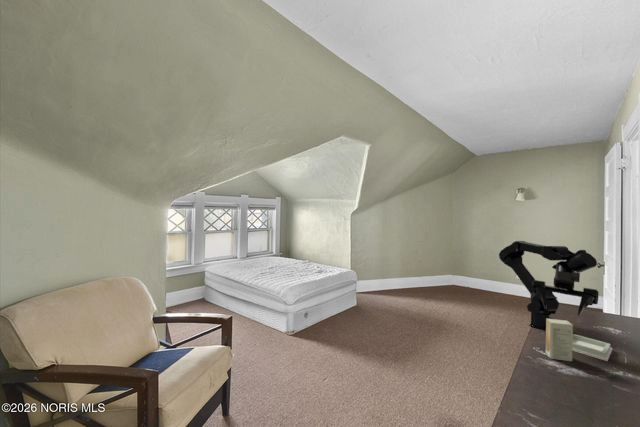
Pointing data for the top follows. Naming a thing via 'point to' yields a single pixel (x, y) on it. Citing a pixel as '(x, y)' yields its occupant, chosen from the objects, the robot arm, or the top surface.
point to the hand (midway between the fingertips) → (561, 311)
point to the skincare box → (559, 339)
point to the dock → (591, 347)
